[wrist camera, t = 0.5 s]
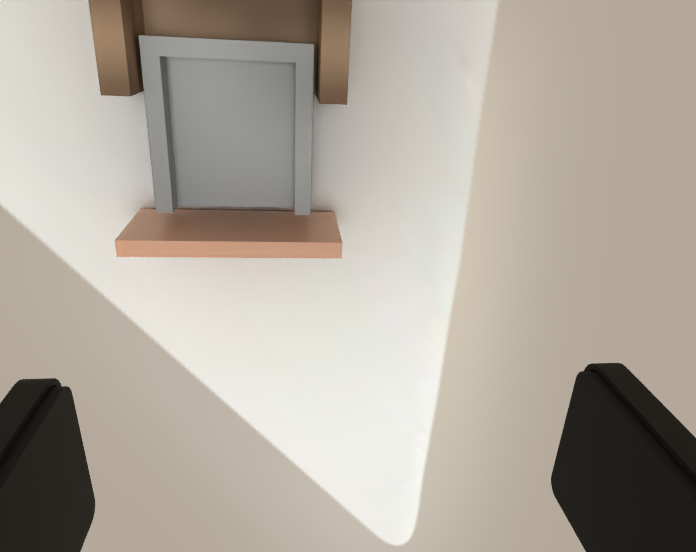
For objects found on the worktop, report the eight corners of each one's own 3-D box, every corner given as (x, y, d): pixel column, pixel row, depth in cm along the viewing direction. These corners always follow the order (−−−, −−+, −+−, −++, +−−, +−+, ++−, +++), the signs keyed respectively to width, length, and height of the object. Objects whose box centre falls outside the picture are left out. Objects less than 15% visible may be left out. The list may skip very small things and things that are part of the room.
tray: (121, 33, 32) (86, 33, 27) (341, 44, 33) (351, 47, 28) (142, 222, 37) (117, 256, 31) (333, 225, 38) (341, 258, 33)
